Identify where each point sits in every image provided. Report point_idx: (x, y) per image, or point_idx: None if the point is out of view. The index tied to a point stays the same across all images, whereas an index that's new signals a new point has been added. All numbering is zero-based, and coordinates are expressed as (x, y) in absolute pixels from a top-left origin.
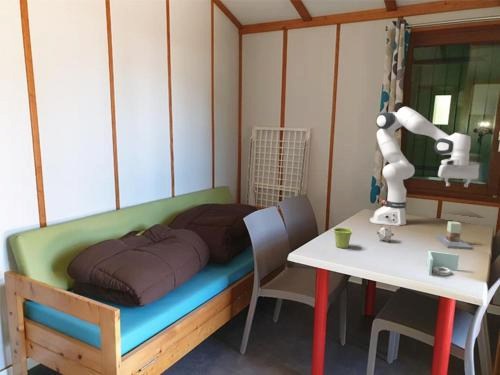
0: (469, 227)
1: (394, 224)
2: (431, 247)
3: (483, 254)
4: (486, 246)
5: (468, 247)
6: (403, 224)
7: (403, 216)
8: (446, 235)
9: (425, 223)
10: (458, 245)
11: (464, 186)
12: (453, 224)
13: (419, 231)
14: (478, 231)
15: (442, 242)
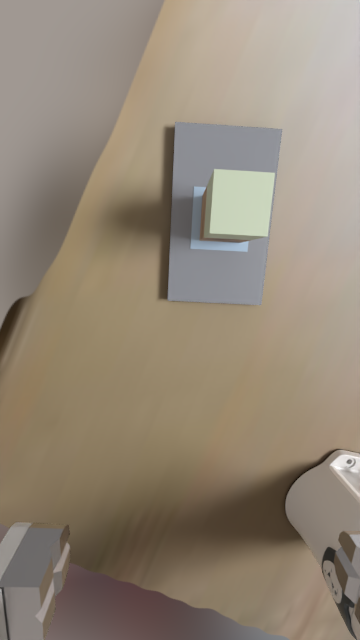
0: (43, 478)
1: (356, 455)
2: (346, 132)
3: (157, 52)
4: (89, 192)
5: (192, 123)
6: (310, 470)
7: (327, 505)
8: (244, 241)
9: (204, 507)
10: (228, 144)
11: (65, 549)
12: (260, 173)
13: (284, 383)
14: (29, 425)
15: (272, 200)
